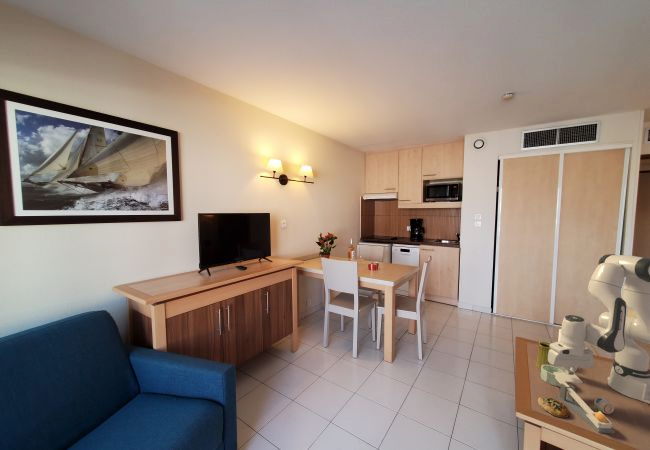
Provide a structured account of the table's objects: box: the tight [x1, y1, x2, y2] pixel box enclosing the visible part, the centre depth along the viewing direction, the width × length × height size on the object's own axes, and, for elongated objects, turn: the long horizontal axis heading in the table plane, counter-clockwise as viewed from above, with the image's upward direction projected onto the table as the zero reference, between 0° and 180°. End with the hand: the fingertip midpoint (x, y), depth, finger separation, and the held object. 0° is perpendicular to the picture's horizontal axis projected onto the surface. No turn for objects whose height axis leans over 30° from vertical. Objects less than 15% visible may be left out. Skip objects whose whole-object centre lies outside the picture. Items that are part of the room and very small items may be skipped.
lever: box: [553, 372, 614, 429], centre depth 118 cm, size 26×13×3 cm, turn 178°
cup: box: [540, 364, 565, 388], centre depth 137 cm, size 10×10×6 cm
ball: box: [595, 413, 608, 423], centre depth 107 cm, size 4×4×4 cm
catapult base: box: [555, 383, 614, 434], centre depth 115 cm, size 20×6×8 cm, turn 179°
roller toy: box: [593, 396, 615, 415], centre depth 117 cm, size 4×6×6 cm
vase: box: [535, 342, 551, 371], centre depth 148 cm, size 6×6×14 cm
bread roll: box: [537, 396, 570, 418], centre depth 118 cm, size 11×11×5 cm
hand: (569, 374), depth 128 cm, fingers closed
